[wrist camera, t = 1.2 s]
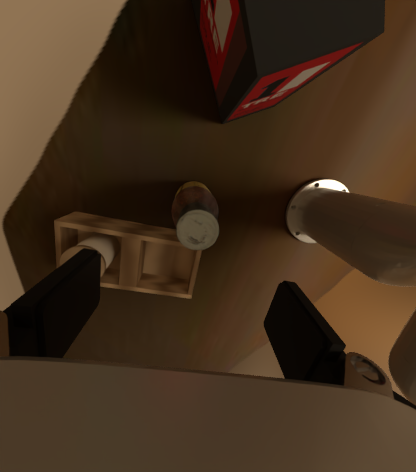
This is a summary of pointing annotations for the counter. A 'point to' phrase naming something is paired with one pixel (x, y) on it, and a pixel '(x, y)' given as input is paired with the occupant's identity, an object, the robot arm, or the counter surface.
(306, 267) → the counter surface
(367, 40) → the cleaning product box
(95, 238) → the jar
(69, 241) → the caddy
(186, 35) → the counter surface
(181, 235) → the sauce bottle
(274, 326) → the robot arm
